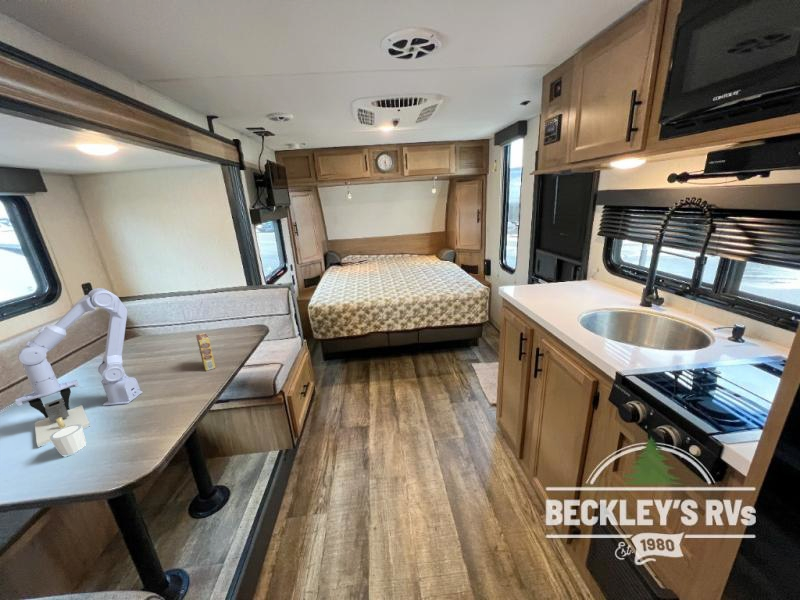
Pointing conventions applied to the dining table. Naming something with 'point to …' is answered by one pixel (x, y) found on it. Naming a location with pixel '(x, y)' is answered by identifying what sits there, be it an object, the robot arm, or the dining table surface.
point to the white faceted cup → (69, 439)
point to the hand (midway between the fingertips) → (57, 412)
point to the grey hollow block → (56, 410)
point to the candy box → (205, 351)
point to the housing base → (59, 424)
